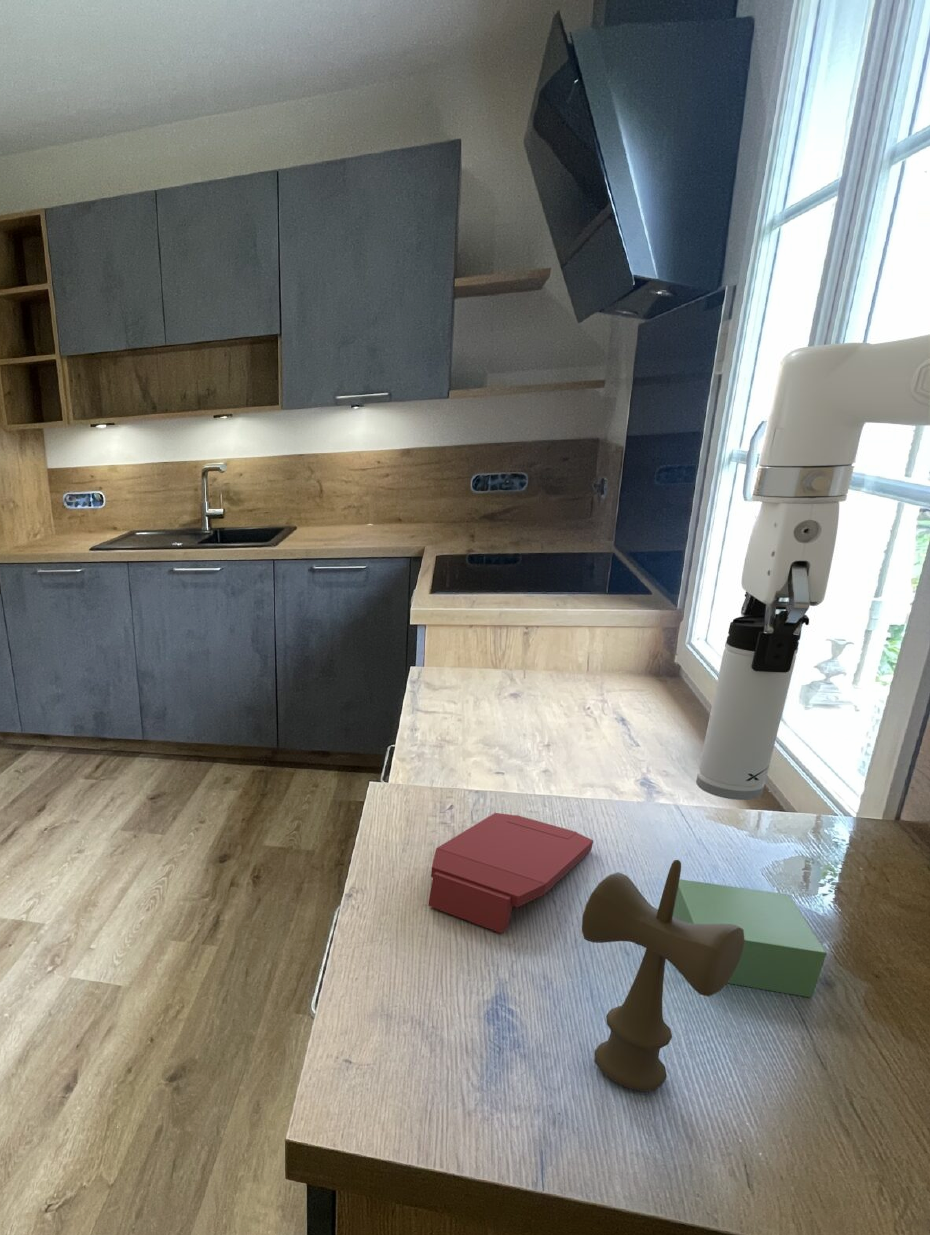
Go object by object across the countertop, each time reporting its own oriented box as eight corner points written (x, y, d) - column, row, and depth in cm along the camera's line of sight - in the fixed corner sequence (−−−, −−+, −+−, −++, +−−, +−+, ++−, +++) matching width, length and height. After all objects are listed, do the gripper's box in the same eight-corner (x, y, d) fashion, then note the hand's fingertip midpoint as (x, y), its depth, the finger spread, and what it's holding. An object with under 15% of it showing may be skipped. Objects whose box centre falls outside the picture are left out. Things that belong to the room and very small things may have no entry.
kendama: (591, 1023, 70) (633, 823, 63) (709, 1092, 62) (771, 874, 55) (552, 1052, 67) (590, 846, 60) (670, 1128, 59) (731, 903, 52)
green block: (777, 935, 81) (790, 894, 79) (812, 998, 72) (827, 953, 70) (666, 918, 84) (675, 878, 82) (686, 976, 75) (697, 932, 74)
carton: (492, 844, 107) (411, 899, 88) (498, 810, 105) (417, 859, 87) (588, 873, 99) (521, 940, 81) (596, 837, 98) (530, 897, 80)
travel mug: (767, 805, 85) (813, 623, 78) (695, 794, 88) (732, 618, 81) (764, 784, 90) (807, 610, 82) (695, 773, 93) (731, 606, 86)
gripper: (886, 490, 68) (833, 688, 75) (815, 478, 83) (776, 643, 90) (782, 492, 71) (740, 683, 77) (731, 480, 86) (699, 640, 92)
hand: (759, 660), depth 83 cm, fingers closed on travel mug, 6 cm apart
